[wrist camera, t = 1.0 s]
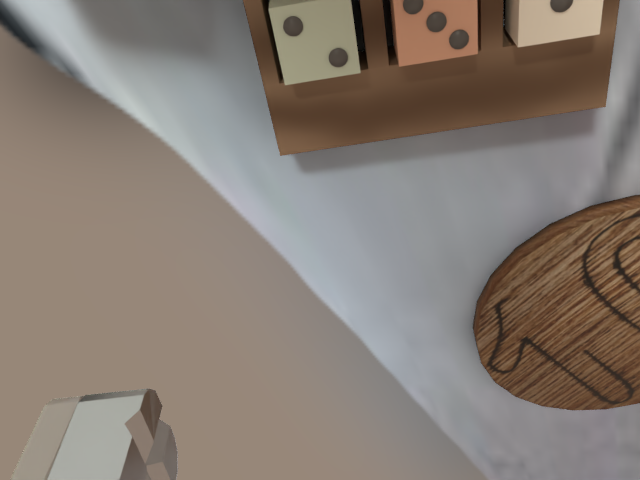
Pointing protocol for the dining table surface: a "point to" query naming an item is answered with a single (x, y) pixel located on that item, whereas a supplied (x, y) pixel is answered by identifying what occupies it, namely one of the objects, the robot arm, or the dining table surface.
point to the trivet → (568, 312)
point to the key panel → (432, 83)
